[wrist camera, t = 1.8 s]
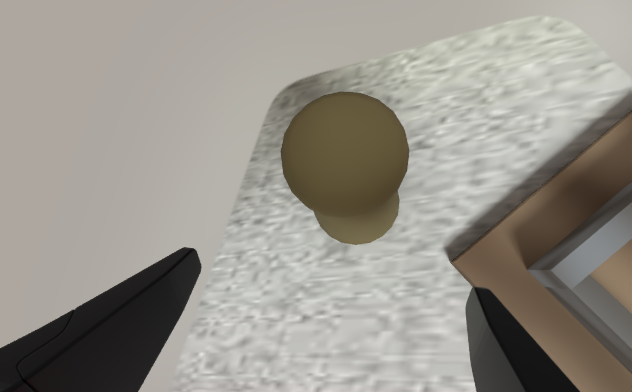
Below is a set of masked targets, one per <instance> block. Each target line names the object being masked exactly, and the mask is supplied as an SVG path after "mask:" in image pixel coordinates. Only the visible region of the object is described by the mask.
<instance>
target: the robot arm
mask: <svg viewBox="0 0 632 392" xmlns="http://www.w3.org/2000/svg"><path fill="white" fill-rule="evenodd" d="M200 272H201V263H200V260H199V257H198V254H197V251H196V250H195V249H194V248H186V247H184V248H182V249H180V250H178V251H176V252H174V253H172V254H171V255H169V256H167V257H165V258H164V259H162V260H160V261H158V262H157V263H155V264H153V265H151V266H150V267H148V268H146V269H144V270H142V271H141V272H139V273H137V274H135V275H134V276H132V277H130V278H128V279H127V280H125V281H123V282H121V283H119V284H118V285H116V286H114V287H112V288H111V289H109V290H107V291H105V292H104V293H102V294H100V295H98V296H96V297H95V298H93V299H91V300H89V301H88V302H86V303H84V304H82V305H81V306H79V307H77V308H76V309H75V310H72V311H70V312H68V313H67V314H65V315H63V316H61V317H59V318H58V319H56V320H54V321H52V322H50V323H48V324H46V325H45V326H43V327H41V328H39V329H37V330H35V331H33V332H31V333H29V334H28V335H26V336H23V337H22V338H20V339H18V340H16V341H14V342H12V343H10V344H8V345H6V346H4V347H2V348H0V392H138V391H139V389H140V388H141V385H142V384H143V382H144V380H145V378H146V377H147V375H148V373H149V371H150V370H151V368H152V366H153V364H154V363H155V361H156V359H157V357H158V355H159V354H160V352H161V350H162V348H163V347H164V345H165V343H166V341H167V339H168V338H169V336H170V334H171V332H172V331H173V329H174V327H175V325H176V323H177V321H178V320H179V318H180V316H181V314H182V312H183V310H184V308H185V306H186V304H187V302H188V300H189V297H190V295H191V293H192V290H193V288H194V286H195V284H196V281H197V279H198V277H199V274H200ZM466 321H467V331H468V342H469V352H470V361H471V367H472V372H473V377H474V382H475V386H476V391H477V392H580V390H579V389H578V388H577V387H576V386H575V385H574V384H573V383H572V381H571V380H570V379H569V378H568V377H567V376H566V375H565V373H564V372H563V371H562V370H561V369H560V368H559V367H558V366H557V364H556V363H555V362H554V361H553V360H552V359H551V358H550V357H549V355H548V354H547V353H546V352H545V351H544V350H543V349H542V348H541V346H540V345H539V344H538V343H537V342H536V341H535V340H534V339H533V337H532V336H531V335H530V334H529V333H528V332H527V331H526V330H525V328H524V327H523V326H522V325H521V324H520V323H519V322H518V320H517V319H516V318H515V317H514V316H513V315H512V314H511V313H510V311H509V310H508V309H507V308H506V307H505V306H504V305H503V304H502V302H501V301H500V300H499V299H498V298H497V297H496V296H495V295H494V293H493V292H492V291H491V290H490V289H488V288H485V287H477V286H474V287H473V288H472V289H471V292H470V295H469V297H468V300H467V303H466Z"/></svg>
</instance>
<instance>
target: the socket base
mask: <svg viewBox="0 0 632 392" xmlns="http://www.w3.org/2000/svg"><path fill="white" fill-rule="evenodd" d="M450 263H451V264H452V265H453V266H454V267H455V268H456V269H457V270H458V271H459V272H460V273H461V275H462V276H463V277H464V278H465V279H466V280H467V281H468V282H469V283H470V284H471V285H472V286H473V287H474V286H477V287H485V288H488V289H490V290H491V291H492V292H493V293H494V295H495V296H496V297H497V298H498V299H499V300H500V301H501V302H502V304H503V305H504V306H505V307H506V308H507V309H508V310H509V311H510V313H511V314H512V315H513V316H514V317H515V318H516V319H517V320H518V322H519V323H520V324H521V325H522V326H523V327H524V328H525V330H526V331H527V332H528V333H529V334H530V335H531V336H532V337H533V339H534V340H535V341H536V342H537V343H538V344H539V345H540V346H541V348H542V349H543V350H544V351H545V352H546V353H547V354H548V355H549V357H550V358H551V359H552V360H553V361H554V362H555V363H556V364H557V366H558V367H559V368H560V369H561V370H562V371H563V372H564V373H565V375H566V376H567V377H568V378H569V379H570V380H571V381H572V383H573V384H574V385H575V386H576V387H577V388H578V389H579V390H580V392H632V111H631V112H630V113H628V114H627V115H626V116H625V117H624V118H622V119H621V120H620V121H619V122H618V123H616V124H615V125H614V126H613V127H612V128H610V129H609V130H608V131H607V132H606V133H605V134H603V135H602V136H601V137H600V138H599V139H597V140H596V141H595V142H594V143H593V144H591V145H590V146H589V147H588V148H587V149H585V150H584V151H583V152H582V153H581V154H579V155H578V156H577V157H576V158H575V159H573V160H572V161H571V162H570V163H569V164H567V165H566V166H565V167H564V168H563V169H561V170H560V171H559V172H558V173H557V174H556V175H554V176H553V177H552V178H551V179H550V180H548V181H547V182H546V183H545V184H544V185H542V186H541V187H540V188H539V189H538V190H536V191H535V192H534V193H533V194H532V195H530V196H529V197H528V198H527V199H526V200H524V201H523V202H522V203H521V204H520V205H518V206H517V207H516V208H515V209H514V210H512V211H511V212H510V213H509V214H508V215H507V216H505V217H504V218H503V219H502V220H501V221H499V222H498V223H497V224H496V225H495V226H493V227H492V228H491V229H490V230H489V231H487V232H486V233H485V234H484V235H483V236H481V237H480V238H479V239H478V240H477V241H475V242H474V243H473V244H472V245H471V246H469V247H468V248H467V249H466V250H465V251H463V252H462V253H461V254H460V255H459V256H457V257H456V258H455V259H454V260H453V261H452V262H450Z"/></svg>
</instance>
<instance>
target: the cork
mask: <svg viewBox="0 0 632 392" xmlns="http://www.w3.org/2000/svg"><path fill="white" fill-rule="evenodd" d="M281 158H282V167H283V174H284V177H285V179H286V181H287V183H288V185H289V187H290V189H291V191H292V192H293V194H294V195H295V196H296V197H297V198H298V199H299V200H300V201H301V202H302V203H303V204H304V205H305V206H307V207H308V208H310V209H312V210H314V213H315V216H316V218H317V220H318V222H319V224H320V226H321V228H322V229H323V230H324V231H325V232H326V233H327V234H328V235H329V236H331V237H332V238H334V239H336V240H338V241H340V242H342V243H348V244H354V245H358V244H364V243H370V242H372V241H374V240H376V239H378V238H380V237H382V236H383V235H384V234H385V233H386V232H387V231H388V230H389V229H390V228H391V227H392V225H393V223H394V221H395V219H396V217H397V215H398V209H399V196H398V191H397V190H398V188H399V186H400V184H401V182H402V180H403V178H404V176H405V174H406V172H407V167H408V158H409V147H408V143H407V138H406V134H405V130H404V128H403V126H402V124H401V123H400V121H399V120H398V118H397V117H396V115H395V113H394V112H393V111H392V110H391V109H390V108H388V107H387V106H386V105H385V104H383V103H382V102H381V101H379V100H378V99H375V98H373V97H370V96H367V95H364V94H362V93H353V92H337V93H333V94H328V95H324V96H322V97H320V98H318V99H316V100H314V101H313V102H311V103H309V104H307V105H306V106H305V107H304V108H303V109H302V110H301V111H300V112H299V113H298V114H297V115H296V116H295V117H294V118H293V120H292V121H291V123H290V125H289V127H288V129H287V130H286V132H285V134H284V139H283V144H282V148H281Z"/></svg>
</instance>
